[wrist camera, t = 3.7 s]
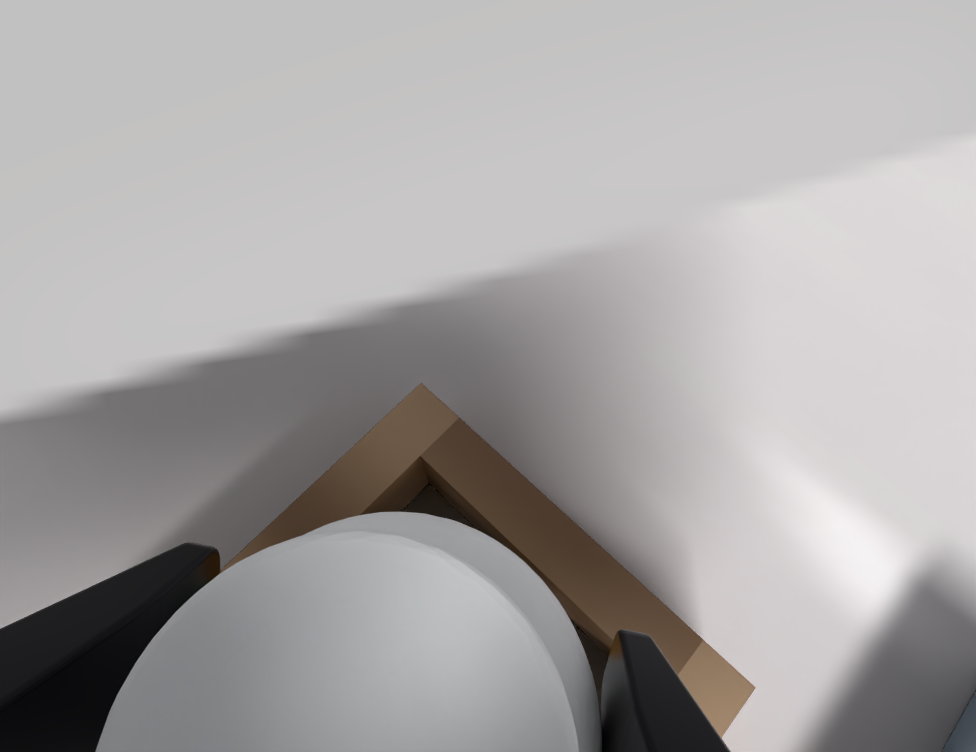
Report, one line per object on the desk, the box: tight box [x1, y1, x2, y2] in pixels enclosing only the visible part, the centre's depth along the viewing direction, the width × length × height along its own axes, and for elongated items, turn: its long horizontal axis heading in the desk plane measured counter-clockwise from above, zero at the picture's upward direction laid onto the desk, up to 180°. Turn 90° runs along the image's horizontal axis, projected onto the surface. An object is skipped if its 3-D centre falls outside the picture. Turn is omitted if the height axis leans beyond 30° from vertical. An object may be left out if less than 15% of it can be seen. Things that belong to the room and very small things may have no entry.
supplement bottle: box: [95, 512, 602, 752], centre depth 9 cm, size 5×5×10 cm
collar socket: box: [220, 383, 756, 738], centre depth 13 cm, size 9×9×2 cm
